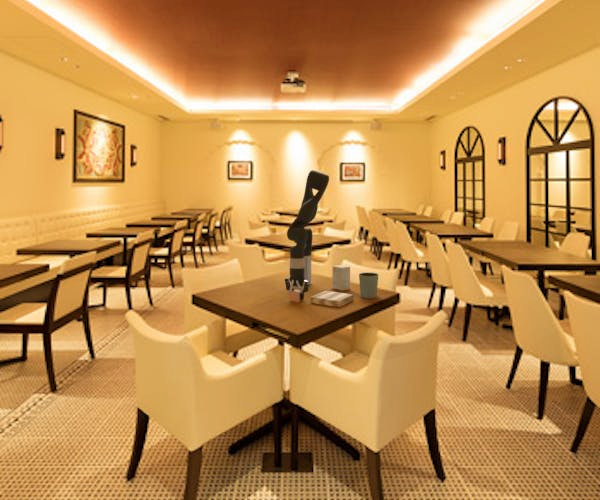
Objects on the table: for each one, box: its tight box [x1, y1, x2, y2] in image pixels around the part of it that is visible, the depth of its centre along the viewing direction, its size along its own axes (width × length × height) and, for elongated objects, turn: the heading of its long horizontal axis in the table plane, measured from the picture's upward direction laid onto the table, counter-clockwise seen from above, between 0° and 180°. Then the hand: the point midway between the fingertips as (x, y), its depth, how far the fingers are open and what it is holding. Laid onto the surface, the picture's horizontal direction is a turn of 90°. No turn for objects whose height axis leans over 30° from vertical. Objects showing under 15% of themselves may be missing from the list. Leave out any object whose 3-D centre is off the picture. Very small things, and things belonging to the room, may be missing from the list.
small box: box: [332, 264, 351, 291], centre depth 263 cm, size 8×6×13 cm
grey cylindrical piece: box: [358, 272, 379, 299], centre depth 246 cm, size 10×10×12 cm
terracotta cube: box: [289, 288, 305, 303], centre depth 237 cm, size 5×5×5 cm
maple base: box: [310, 290, 354, 308], centre depth 236 cm, size 16×16×3 cm
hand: (296, 299), depth 237 cm, fingers closed on terracotta cube, 5 cm apart
